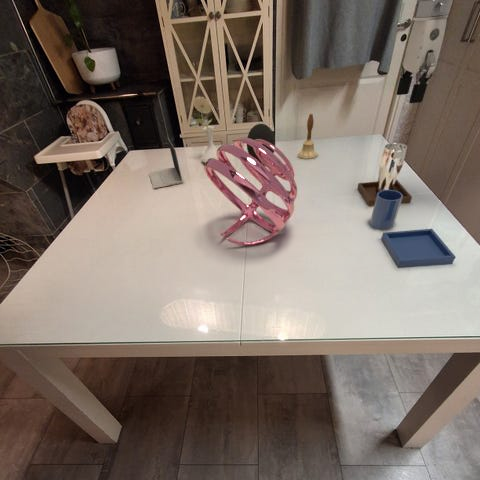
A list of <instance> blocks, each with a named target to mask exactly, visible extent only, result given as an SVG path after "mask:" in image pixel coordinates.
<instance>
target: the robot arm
mask: <svg viewBox="0 0 480 480" xmlns="http://www.w3.org/2000/svg"><path fill="white" fill-rule="evenodd" d="M453 2H454V0H417V1H416V5H415V10H414V13H413V17H412V21H414V22H413V25H412V28H411V32H410V35H409V39H408V42H407V45H406V49H405V53H404V55H403V60H402V65H401V72H400V78H399V82H398V85H397V89H396V92H395V93H396V94H395V95H397V96H402V95H403V96H404V95H409V92H410V89H411V85H412V81H413V76H412V75H413V74H414V75H415V83H414V84H413V86H412V91H411V93H410V97H409V103H410V104H418V103H423V100H424V97H425V94H426V90H427V87H428V85H429V83H430V79H431V77H432V76H433V73H434V71H435V69H436V67H437V64H438V60H439V57H440V53H441V49H442V44H443V41H444V38H445V33H446V32H445V31H446V27H447V21H448V18H449V14H450V11H451V8H452V5H453Z"/></svg>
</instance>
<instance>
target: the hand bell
mask: <svg viewBox="0 0 480 480" xmlns="http://www.w3.org/2000/svg"><path fill="white" fill-rule="evenodd" d="M314 123H315V122H314V114H313V113H310V114H309V115H308V118H307V122H306V128H307V136H306V140H305V141H304V142H303V144H302V149H301V150H300V152H299V153H298V155H297V156H298V158H300V159H304V160H311V159H314V158H316V157H317V156H318V154H317V152H316V150H315V144H314V141H313V140H312V131H313V128H314Z"/></svg>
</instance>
